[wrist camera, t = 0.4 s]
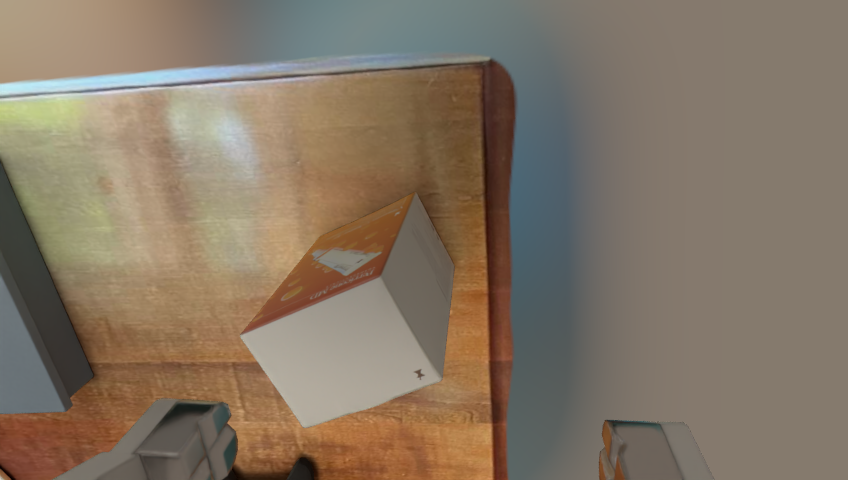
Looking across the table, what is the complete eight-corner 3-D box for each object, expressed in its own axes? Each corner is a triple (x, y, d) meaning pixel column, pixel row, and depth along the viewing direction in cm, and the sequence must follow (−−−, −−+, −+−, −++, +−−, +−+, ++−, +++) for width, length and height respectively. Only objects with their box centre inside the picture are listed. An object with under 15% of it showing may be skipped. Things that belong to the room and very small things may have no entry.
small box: (416, 188, 34) (382, 273, 22) (456, 266, 36) (446, 384, 24) (316, 235, 36) (234, 336, 24) (359, 306, 38) (304, 434, 26)
